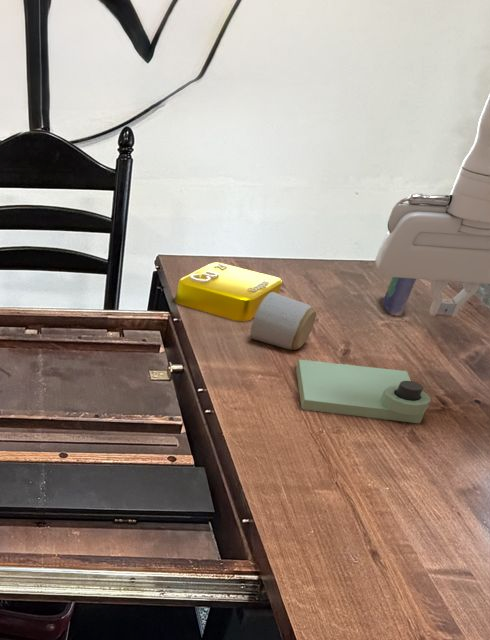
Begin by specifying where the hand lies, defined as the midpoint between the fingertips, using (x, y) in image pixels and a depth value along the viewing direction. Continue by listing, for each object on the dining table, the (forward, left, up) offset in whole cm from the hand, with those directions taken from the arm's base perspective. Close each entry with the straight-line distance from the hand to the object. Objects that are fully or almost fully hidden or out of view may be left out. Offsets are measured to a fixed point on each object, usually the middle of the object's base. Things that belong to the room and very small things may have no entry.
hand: (441, 315), depth 94 cm
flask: (-5, -42, -14) cm, 45 cm away
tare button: (+1, +2, -11) cm, 11 cm away
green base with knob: (+6, -3, -14) cm, 16 cm away
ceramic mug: (+16, -21, -14) cm, 30 cm away
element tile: (+25, -37, -14) cm, 47 cm away
